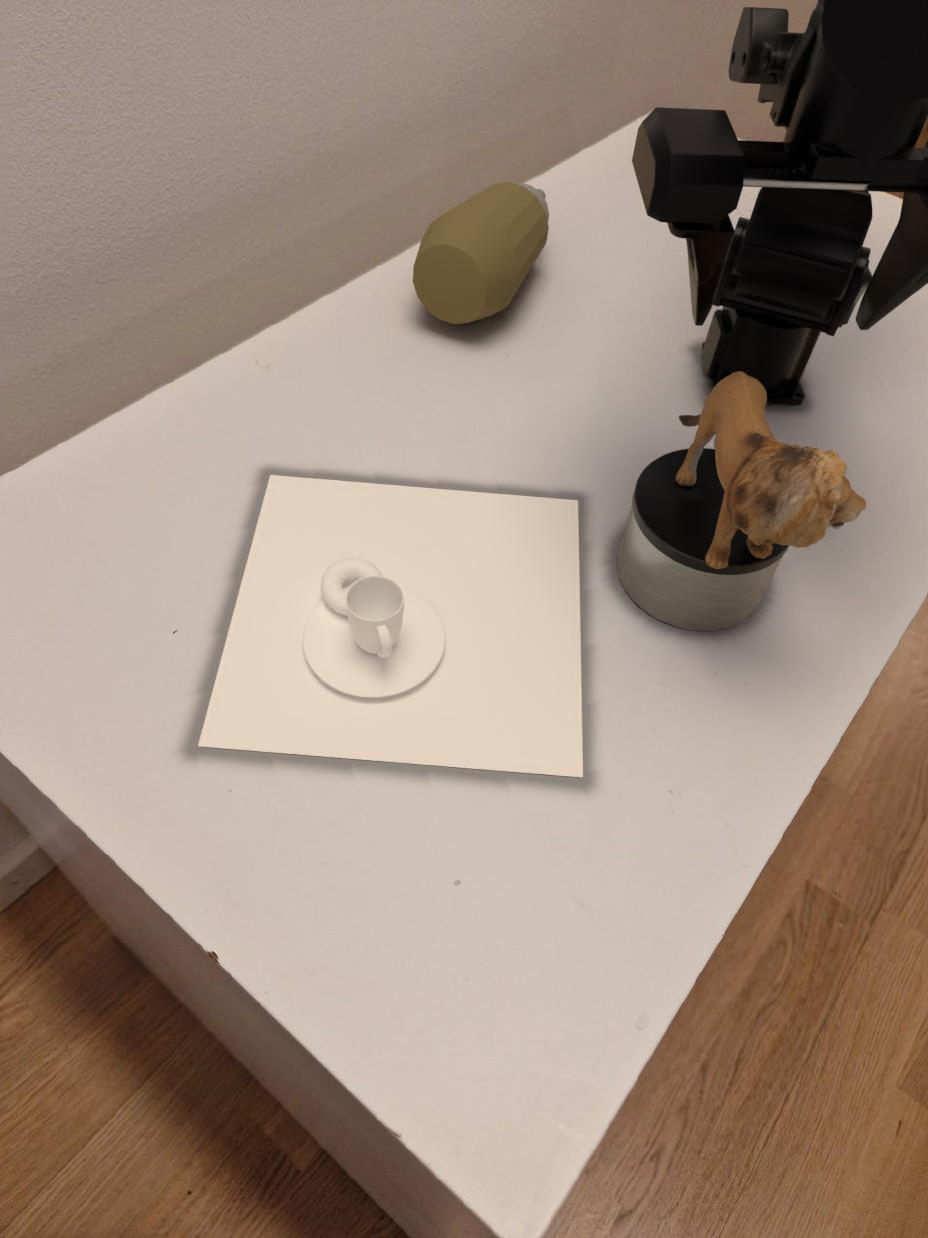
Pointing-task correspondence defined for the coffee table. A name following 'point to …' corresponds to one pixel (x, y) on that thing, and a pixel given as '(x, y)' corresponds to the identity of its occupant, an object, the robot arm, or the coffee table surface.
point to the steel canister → (688, 550)
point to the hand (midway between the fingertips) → (779, 323)
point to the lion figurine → (765, 476)
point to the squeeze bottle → (481, 252)
